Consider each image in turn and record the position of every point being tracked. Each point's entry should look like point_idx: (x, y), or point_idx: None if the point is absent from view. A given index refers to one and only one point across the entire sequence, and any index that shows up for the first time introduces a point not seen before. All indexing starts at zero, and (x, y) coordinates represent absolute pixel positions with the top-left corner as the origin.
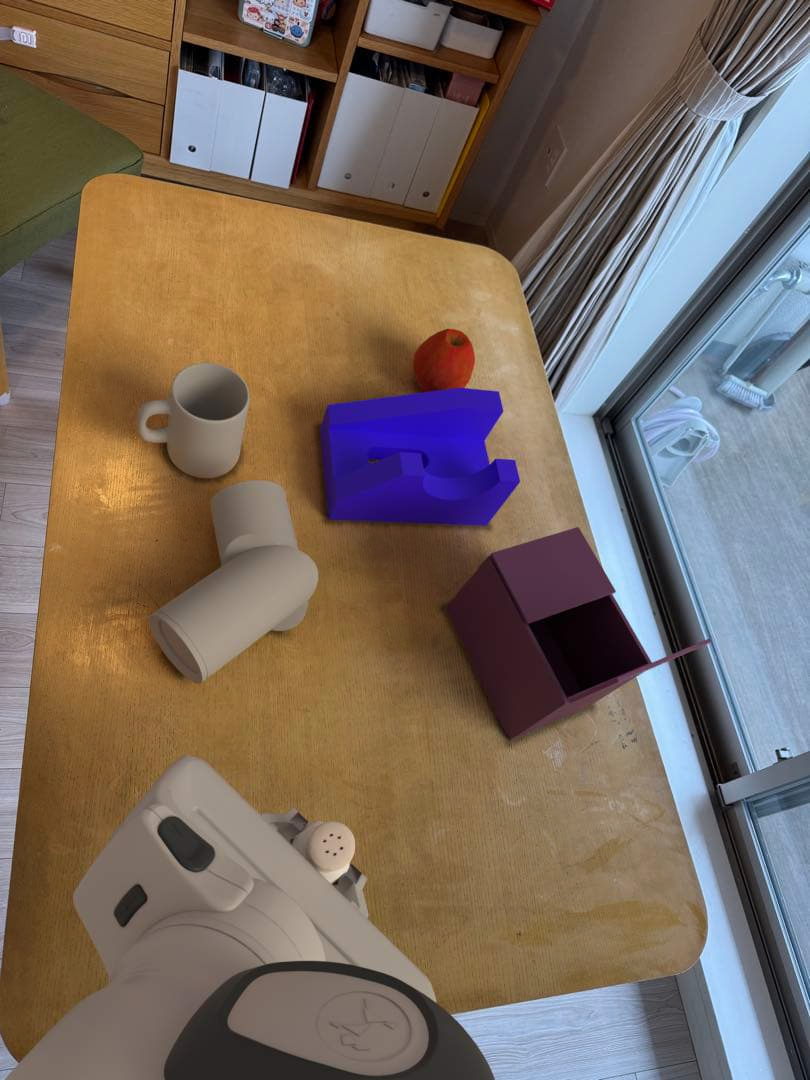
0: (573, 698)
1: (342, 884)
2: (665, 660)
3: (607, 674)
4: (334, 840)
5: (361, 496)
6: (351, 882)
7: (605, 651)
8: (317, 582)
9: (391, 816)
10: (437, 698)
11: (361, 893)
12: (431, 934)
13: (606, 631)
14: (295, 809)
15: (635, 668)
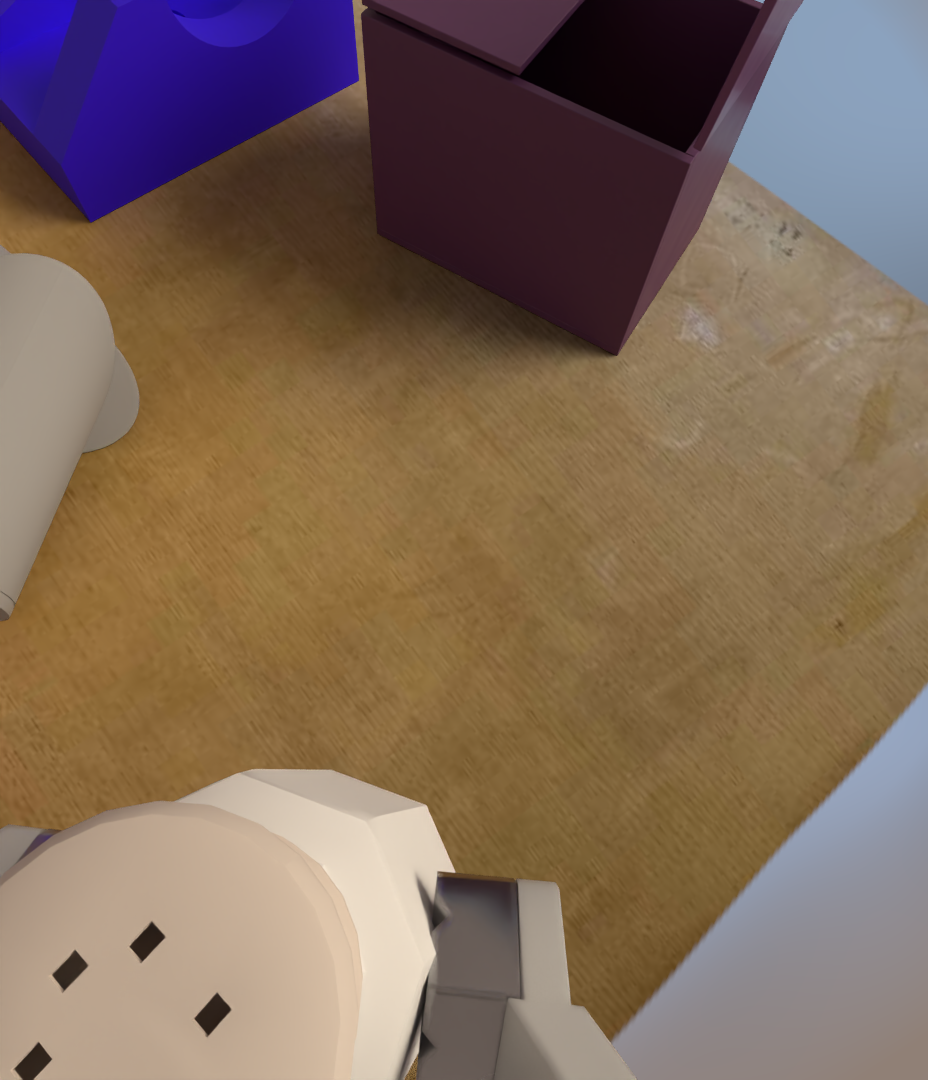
0: (702, 131)
1: (455, 1036)
2: None
3: None
4: (115, 996)
5: (94, 123)
6: (493, 1001)
7: (679, 90)
8: (100, 299)
9: (513, 594)
10: (460, 370)
11: (583, 1035)
12: (708, 727)
13: (661, 45)
14: (16, 833)
15: None
